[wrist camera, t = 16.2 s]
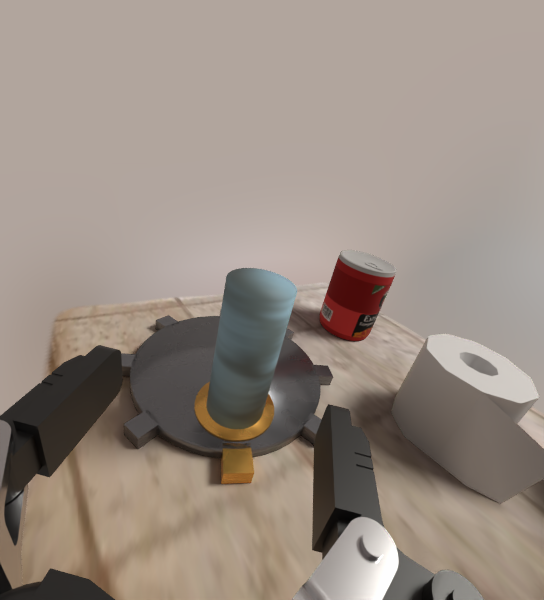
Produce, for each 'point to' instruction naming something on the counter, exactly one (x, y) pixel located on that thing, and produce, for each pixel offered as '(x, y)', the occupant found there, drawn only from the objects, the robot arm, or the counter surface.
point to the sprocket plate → (194, 391)
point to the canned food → (355, 294)
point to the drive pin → (248, 345)
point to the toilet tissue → (471, 416)
